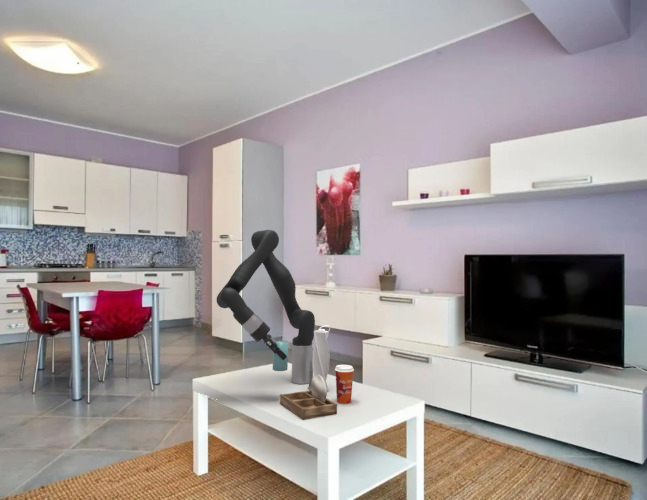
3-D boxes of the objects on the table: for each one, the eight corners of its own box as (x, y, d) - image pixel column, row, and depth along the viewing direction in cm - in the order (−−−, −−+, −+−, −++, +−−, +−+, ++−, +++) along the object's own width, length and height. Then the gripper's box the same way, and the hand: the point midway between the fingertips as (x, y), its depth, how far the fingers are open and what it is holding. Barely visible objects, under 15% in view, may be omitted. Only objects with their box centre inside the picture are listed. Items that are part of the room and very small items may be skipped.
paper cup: (340, 405, 172) (340, 369, 172) (330, 400, 179) (331, 365, 179) (357, 403, 175) (358, 367, 176) (347, 397, 182) (348, 363, 183)
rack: (311, 398, 180) (312, 369, 180) (336, 413, 163) (337, 380, 163) (279, 403, 173) (280, 372, 173) (302, 419, 156) (303, 385, 156)
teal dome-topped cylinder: (283, 367, 183) (284, 340, 183) (289, 370, 178) (290, 342, 178) (270, 368, 180) (270, 341, 180) (276, 371, 175) (276, 343, 175)
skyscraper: (325, 386, 198) (326, 324, 198) (332, 391, 190) (333, 326, 191) (307, 388, 194) (308, 324, 195) (314, 393, 187) (315, 327, 188)
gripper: (263, 323, 171) (293, 353, 173) (262, 318, 185) (289, 346, 187) (248, 336, 170) (279, 367, 172) (249, 331, 184) (277, 359, 186)
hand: (284, 356), depth 179 cm, fingers closed on teal dome-topped cylinder, 6 cm apart
